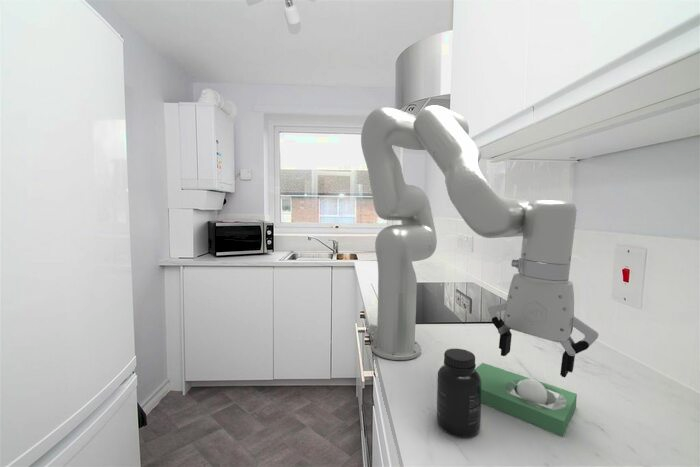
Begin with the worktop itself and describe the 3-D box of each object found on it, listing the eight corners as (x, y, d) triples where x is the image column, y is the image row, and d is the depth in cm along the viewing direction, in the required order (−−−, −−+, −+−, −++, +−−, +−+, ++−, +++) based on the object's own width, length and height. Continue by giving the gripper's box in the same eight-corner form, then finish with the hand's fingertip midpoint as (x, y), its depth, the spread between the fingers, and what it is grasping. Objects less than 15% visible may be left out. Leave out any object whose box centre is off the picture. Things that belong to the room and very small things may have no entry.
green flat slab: (459, 393, 63) (460, 381, 63) (482, 373, 71) (482, 362, 71) (563, 436, 51) (564, 421, 51) (575, 407, 59) (576, 393, 59)
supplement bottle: (469, 412, 57) (472, 345, 56) (487, 439, 50) (491, 364, 50) (431, 412, 57) (433, 345, 56) (443, 439, 50) (446, 363, 49)
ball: (540, 386, 56) (546, 415, 56) (547, 376, 59) (552, 403, 59) (511, 382, 59) (516, 409, 59) (519, 373, 63) (524, 399, 62)
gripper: (485, 264, 60) (477, 352, 62) (602, 284, 49) (588, 392, 50) (500, 260, 66) (492, 341, 67) (608, 277, 54) (595, 375, 56)
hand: (533, 363), depth 59 cm, fingers open, 9 cm apart
